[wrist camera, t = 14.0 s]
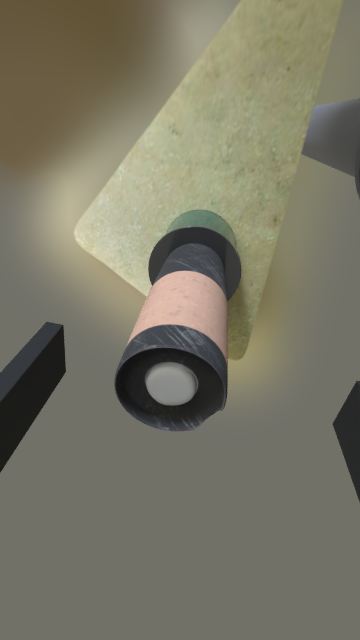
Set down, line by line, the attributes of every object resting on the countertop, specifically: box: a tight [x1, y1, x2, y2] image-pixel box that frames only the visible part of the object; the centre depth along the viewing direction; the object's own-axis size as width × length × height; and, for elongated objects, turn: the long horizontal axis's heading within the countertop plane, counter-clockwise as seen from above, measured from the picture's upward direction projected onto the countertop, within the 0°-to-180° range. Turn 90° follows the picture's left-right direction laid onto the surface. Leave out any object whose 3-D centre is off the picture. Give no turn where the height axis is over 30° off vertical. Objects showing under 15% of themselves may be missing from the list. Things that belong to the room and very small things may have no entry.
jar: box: [148, 210, 241, 301], centre depth 43 cm, size 11×11×10 cm
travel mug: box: [115, 244, 228, 431], centre depth 30 cm, size 8×8×20 cm
